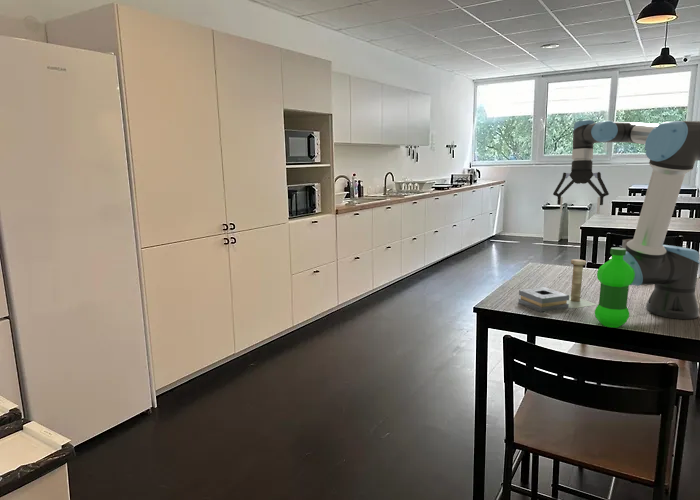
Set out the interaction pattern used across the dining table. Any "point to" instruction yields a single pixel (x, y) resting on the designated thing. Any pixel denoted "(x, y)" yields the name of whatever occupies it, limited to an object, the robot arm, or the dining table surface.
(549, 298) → the square socket block
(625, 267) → the plastic bottle
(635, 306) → the dining table surface
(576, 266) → the pin
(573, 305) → the mat
